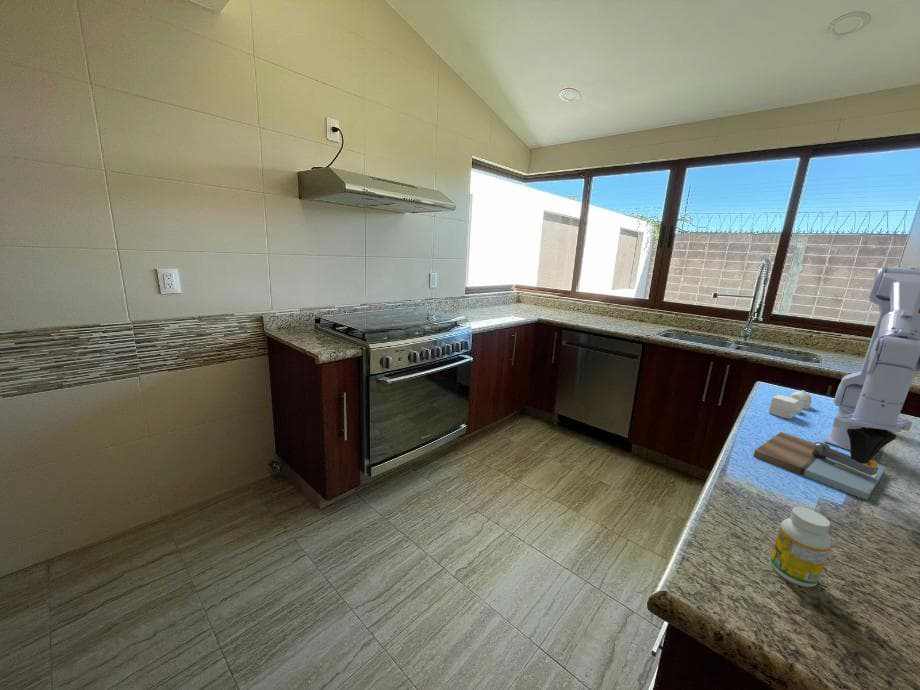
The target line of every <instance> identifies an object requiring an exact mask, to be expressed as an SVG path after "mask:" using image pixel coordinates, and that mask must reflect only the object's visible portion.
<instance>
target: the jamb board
mask: <svg viewBox="0 0 920 690" xmlns="http://www.w3.org/2000/svg"><path fill="white" fill-rule="evenodd" d="M814 445H815V442H812V441H810V440H807V439H804V438H801V437H797V436H796V435H792V434H789V433H786V432H783V431H780V432H779V433H777V434H776V435H775V436H773V437H771V438H770V439H769V440H767V441H766V442H764V443H763V444H762V445H760V446H759V447H757V448H756V449H755V450H754V452H753V457H755V458H756V459H760V460H763V461H764V462H768V463H770V464H773V465H774V466H775V465H776V466H778V467H780V468H783V469H785V470H787V471H790V472H794V473H795V474H798V475H801V476H803V475H804V472H805V469H806V468H807V467H808V466H809V465H810V464H811V463H813V462H814V461H815V460H816V459H817V458H818V457H816V456H814V455H813V454H812V451H813V448H814Z"/></svg>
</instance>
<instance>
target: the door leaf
mask: <svg viewBox="0 0 920 690" xmlns="http://www.w3.org/2000/svg"><path fill="white" fill-rule="evenodd" d="M830 449H833V450H835V451H838V452H840V453H843V454H846V455H848V456H851V454H849V453H846V452H843V451H840V450H836V449H834V448H831V447H830ZM877 467H878V471H877V473H876V474H875V475H872V476H870V475H868V474H866V473H863V472H861V471H858V470H856V469H854V468H851V467H849V466H846V465H844V464H842V463H839V462H837V461H834V460H832V459H830V458H827V457H826V458H819V457H818V458H817V459H816V460H815V461H814V462H813V463H811V464H810V465H809V466H808V467H807V468H806V469H805V472H804V475H802V476H803V477H805V478H808V479H811V480H814V481H816V482H819V483H821V484H824V485H826V486H829V487H832V488H834V489H837V490H839V491H842V492H844V493H846V494H849V495H852V496H854V495H855V496H854V497H856V496H857V497H856V498H859V497H860V498H859V499H861V498H862V500H864V499H865V500H864V501H866V500H867V501H868V499H869V497H870V496H871V494H872V493H873V491H874V489H875V488H876V486H877V485H878V484H879V482H880V480H881V478H882V476H883V475H884V473H885V470H886V468H887V467H886V466H885V465H881V464H879V463H878V466H877Z"/></svg>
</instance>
